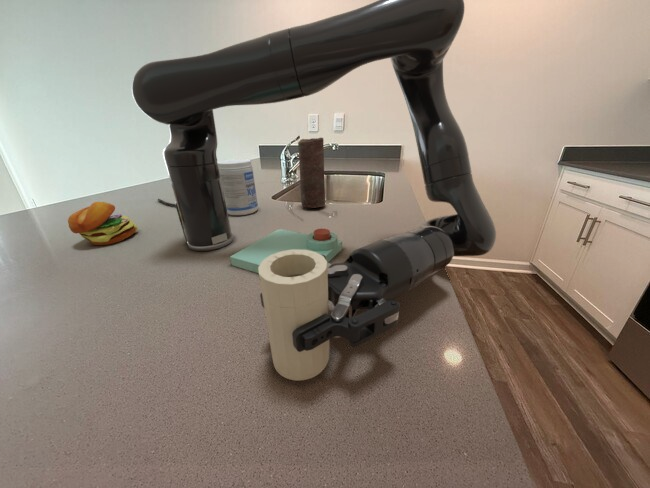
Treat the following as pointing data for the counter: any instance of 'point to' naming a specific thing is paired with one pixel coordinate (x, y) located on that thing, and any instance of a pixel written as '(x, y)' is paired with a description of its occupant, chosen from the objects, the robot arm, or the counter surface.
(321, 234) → the tare button
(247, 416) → the counter surface
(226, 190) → the supplement tub
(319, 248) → the scale
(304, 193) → the candle
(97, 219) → the cheeseburger
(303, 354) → the jar
